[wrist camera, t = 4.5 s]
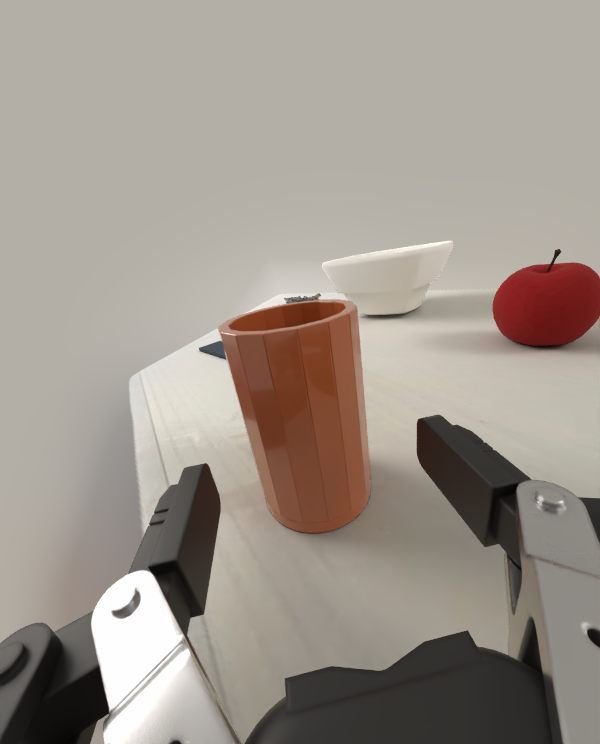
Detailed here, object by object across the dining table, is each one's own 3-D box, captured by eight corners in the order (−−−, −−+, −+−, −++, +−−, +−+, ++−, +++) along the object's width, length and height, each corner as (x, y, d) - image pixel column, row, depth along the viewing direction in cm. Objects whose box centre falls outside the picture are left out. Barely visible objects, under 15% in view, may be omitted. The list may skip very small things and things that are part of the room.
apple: (595, 333, 32) (619, 238, 28) (590, 360, 27) (619, 247, 23) (500, 328, 39) (509, 250, 35) (479, 349, 33) (487, 259, 29)
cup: (318, 559, 13) (275, 341, 9) (246, 492, 18) (195, 328, 14) (392, 479, 17) (384, 299, 13) (316, 440, 22) (293, 299, 18)
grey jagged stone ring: (324, 309, 72) (322, 293, 70) (296, 316, 70) (293, 299, 68) (309, 305, 81) (307, 290, 79) (284, 310, 79) (282, 295, 78)
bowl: (431, 328, 43) (433, 247, 39) (314, 325, 57) (306, 265, 53) (460, 298, 59) (463, 238, 54) (363, 302, 72) (359, 253, 68)
